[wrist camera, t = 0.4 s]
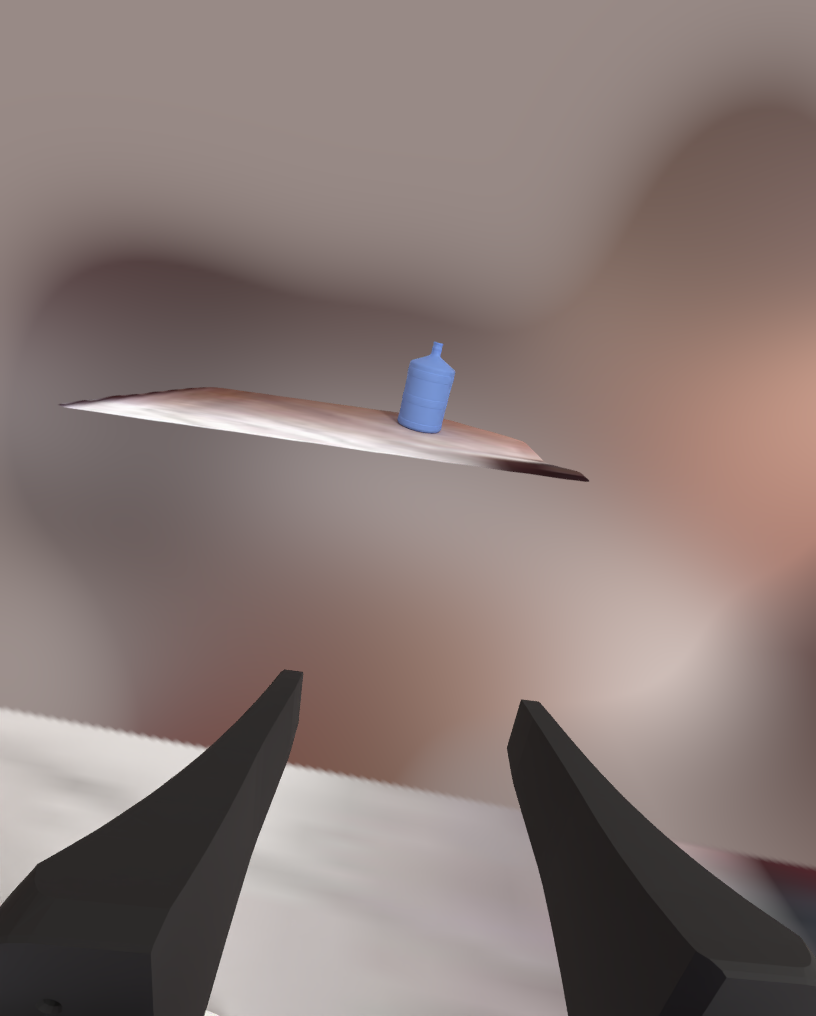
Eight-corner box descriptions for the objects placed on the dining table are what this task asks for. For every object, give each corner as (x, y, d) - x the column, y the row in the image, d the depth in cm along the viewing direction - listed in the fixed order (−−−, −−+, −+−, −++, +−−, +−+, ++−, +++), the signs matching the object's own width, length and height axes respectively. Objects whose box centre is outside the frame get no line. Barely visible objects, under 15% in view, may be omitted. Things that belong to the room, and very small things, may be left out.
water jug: (428, 436, 127) (450, 346, 115) (388, 421, 133) (406, 335, 121) (447, 431, 140) (469, 350, 128) (410, 418, 145) (428, 339, 134)
